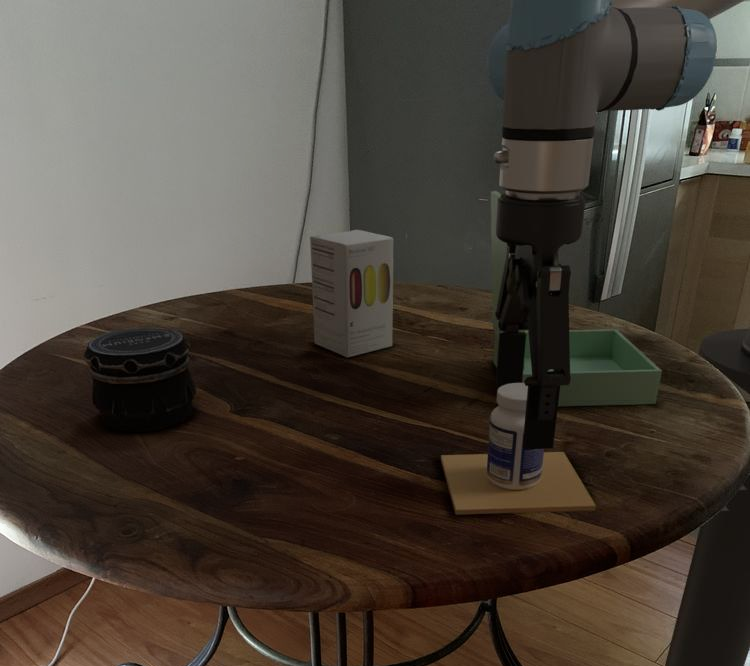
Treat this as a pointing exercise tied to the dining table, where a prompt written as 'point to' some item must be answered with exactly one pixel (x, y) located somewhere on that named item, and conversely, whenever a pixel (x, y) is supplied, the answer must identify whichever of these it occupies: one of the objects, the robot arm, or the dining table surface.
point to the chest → (602, 370)
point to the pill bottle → (511, 442)
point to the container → (141, 378)
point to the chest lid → (497, 262)
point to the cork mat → (483, 497)
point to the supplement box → (352, 291)
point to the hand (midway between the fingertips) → (521, 417)
